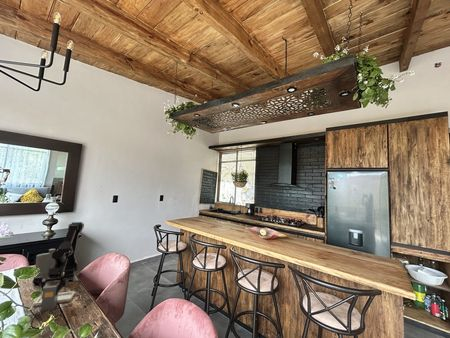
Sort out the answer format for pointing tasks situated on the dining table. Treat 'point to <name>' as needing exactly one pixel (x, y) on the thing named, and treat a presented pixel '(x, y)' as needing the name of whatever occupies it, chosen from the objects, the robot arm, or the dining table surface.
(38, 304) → the tray
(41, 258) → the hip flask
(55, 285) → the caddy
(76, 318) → the dining table surface
